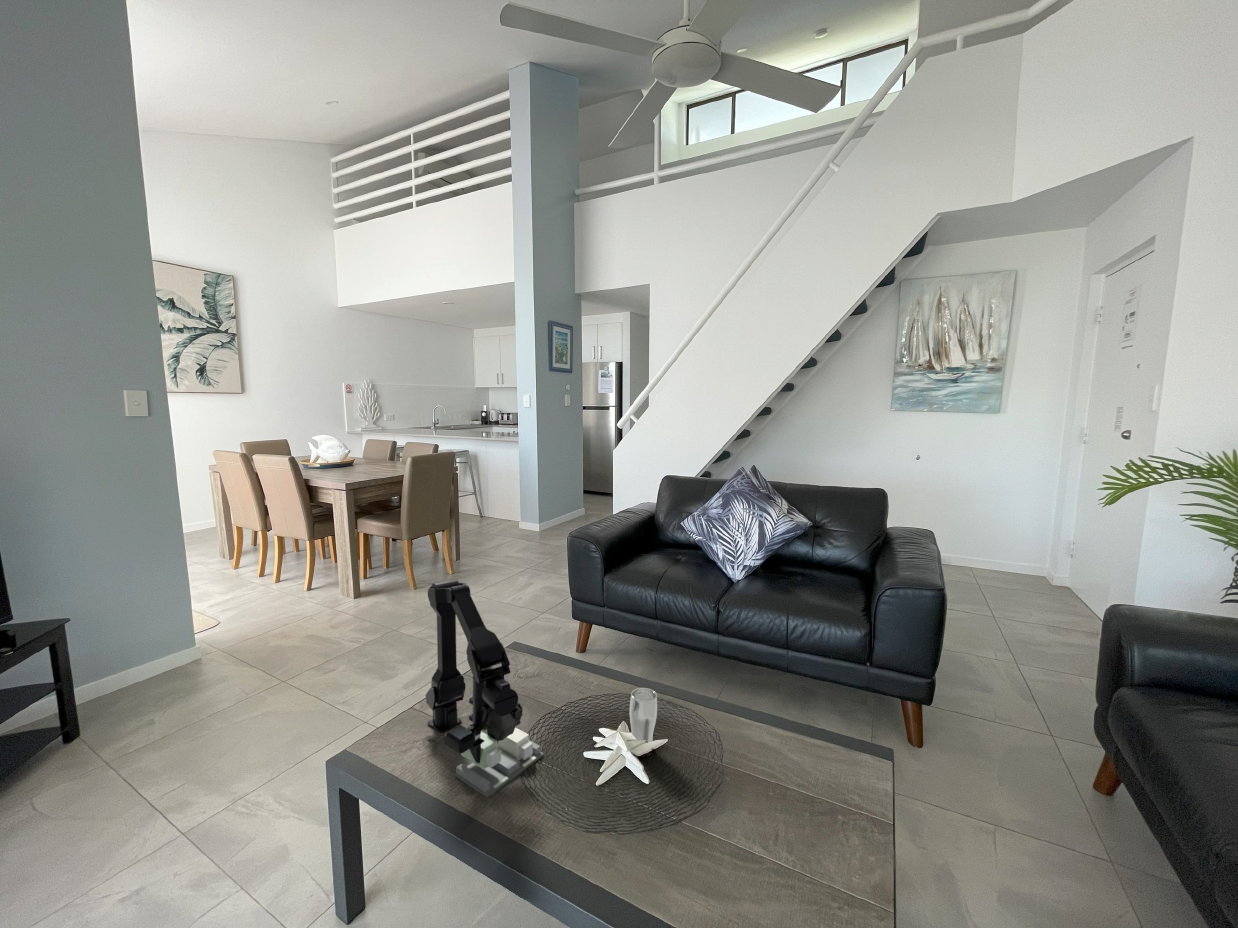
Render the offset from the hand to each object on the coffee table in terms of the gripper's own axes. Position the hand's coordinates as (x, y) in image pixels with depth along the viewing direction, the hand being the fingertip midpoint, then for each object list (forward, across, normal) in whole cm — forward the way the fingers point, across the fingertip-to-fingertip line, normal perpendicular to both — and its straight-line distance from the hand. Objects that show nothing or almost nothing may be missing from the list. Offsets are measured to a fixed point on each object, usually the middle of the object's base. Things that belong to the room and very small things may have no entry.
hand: (485, 757), depth 122 cm
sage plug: (+1, 0, +1) cm, 1 cm away
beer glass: (+4, +30, -24) cm, 39 cm away
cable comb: (+4, +4, -1) cm, 6 cm away
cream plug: (+4, +9, 0) cm, 10 cm away
